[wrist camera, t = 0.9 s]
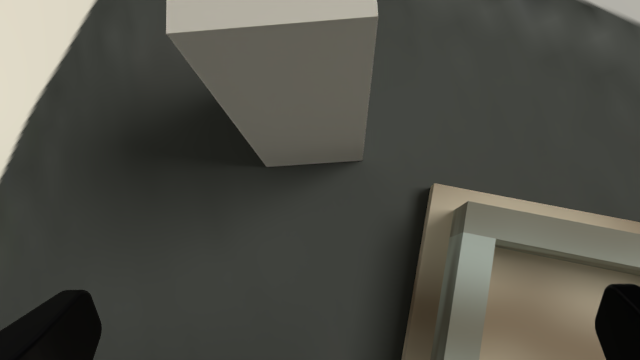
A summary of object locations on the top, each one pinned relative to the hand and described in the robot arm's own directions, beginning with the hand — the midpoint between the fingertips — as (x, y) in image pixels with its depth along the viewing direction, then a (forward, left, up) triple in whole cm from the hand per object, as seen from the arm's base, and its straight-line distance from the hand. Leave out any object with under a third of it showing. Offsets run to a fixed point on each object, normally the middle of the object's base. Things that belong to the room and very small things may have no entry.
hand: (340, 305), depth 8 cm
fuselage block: (+6, +5, -13) cm, 15 cm away
